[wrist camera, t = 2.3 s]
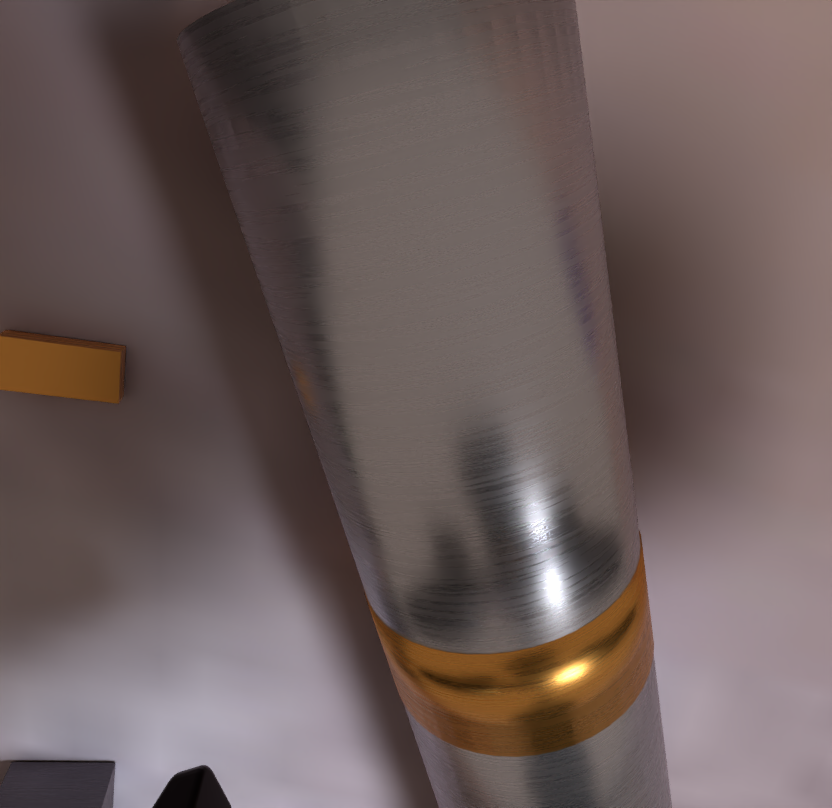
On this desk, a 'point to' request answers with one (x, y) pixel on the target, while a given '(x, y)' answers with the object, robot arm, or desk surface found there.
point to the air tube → (455, 368)
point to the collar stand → (81, 379)
